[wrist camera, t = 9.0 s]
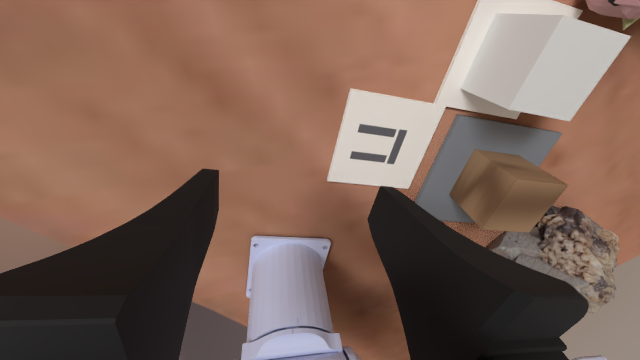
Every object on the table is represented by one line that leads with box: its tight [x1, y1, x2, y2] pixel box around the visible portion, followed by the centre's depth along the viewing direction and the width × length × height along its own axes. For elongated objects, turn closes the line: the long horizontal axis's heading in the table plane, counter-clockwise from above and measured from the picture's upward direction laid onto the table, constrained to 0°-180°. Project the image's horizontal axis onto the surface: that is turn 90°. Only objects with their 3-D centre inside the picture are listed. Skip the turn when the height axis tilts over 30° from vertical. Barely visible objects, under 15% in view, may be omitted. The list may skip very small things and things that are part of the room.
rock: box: [488, 206, 619, 313], centre depth 29 cm, size 9×12×10 cm
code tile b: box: [434, 0, 583, 119], centre depth 20 cm, size 8×8×1 cm
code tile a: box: [327, 88, 446, 189], centre depth 22 cm, size 8×8×1 cm
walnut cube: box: [449, 149, 568, 232], centre depth 23 cm, size 5×5×5 cm
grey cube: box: [461, 13, 631, 121], centre depth 18 cm, size 5×5×5 cm
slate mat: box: [415, 114, 562, 223], centre depth 26 cm, size 11×11×1 cm
